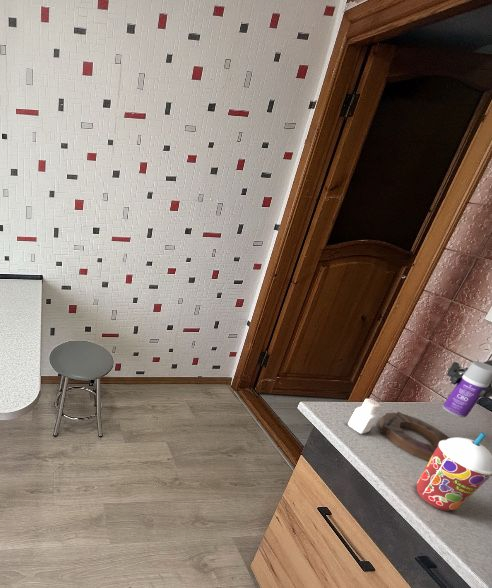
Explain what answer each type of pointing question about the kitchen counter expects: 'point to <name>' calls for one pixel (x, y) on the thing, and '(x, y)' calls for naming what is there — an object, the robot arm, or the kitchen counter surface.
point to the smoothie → (455, 472)
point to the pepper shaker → (364, 416)
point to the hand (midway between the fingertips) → (467, 387)
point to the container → (469, 389)
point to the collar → (393, 431)
